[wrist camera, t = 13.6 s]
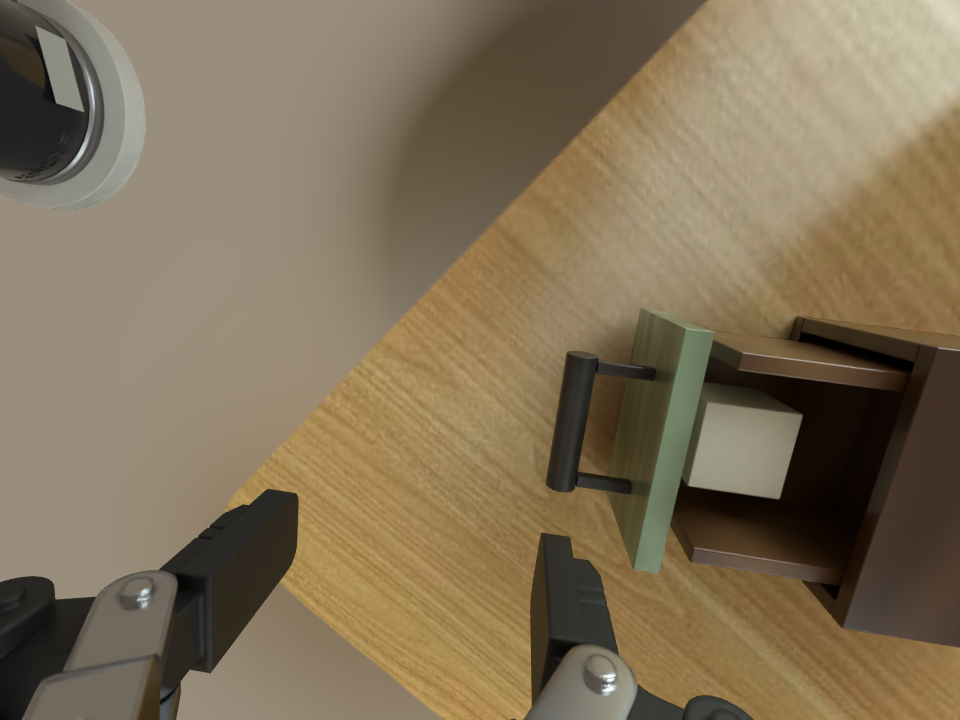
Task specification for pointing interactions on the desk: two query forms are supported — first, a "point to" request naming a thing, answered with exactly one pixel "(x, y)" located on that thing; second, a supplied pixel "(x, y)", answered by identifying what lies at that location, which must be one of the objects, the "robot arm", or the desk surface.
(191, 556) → the robot arm
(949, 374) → the cabinet
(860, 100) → the desk surface
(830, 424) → the drawer
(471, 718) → the desk surface
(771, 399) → the block
